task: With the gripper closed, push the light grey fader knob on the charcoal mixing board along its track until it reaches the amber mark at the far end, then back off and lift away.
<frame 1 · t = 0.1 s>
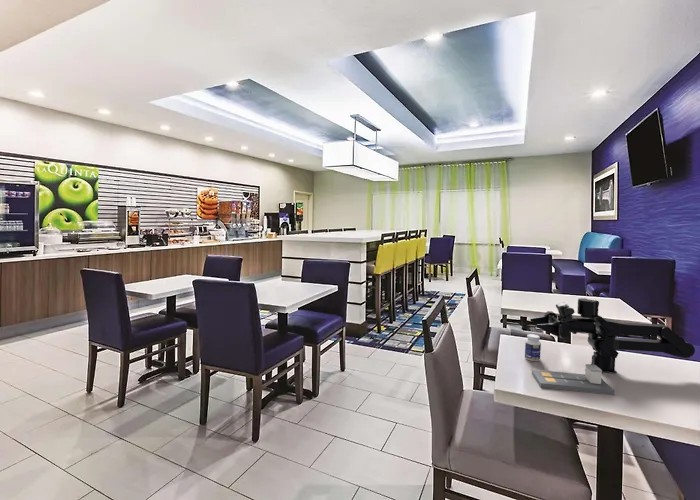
hand: (533, 322, 143), 17 cm above the table, tool horizontal, fingers open, 9 cm apart
pill bottle: (532, 359, 149), on the table
mixing board: (570, 383, 126), on the table
fader: (593, 373, 124), point 4 cm above the table, slide at 0.0 cm
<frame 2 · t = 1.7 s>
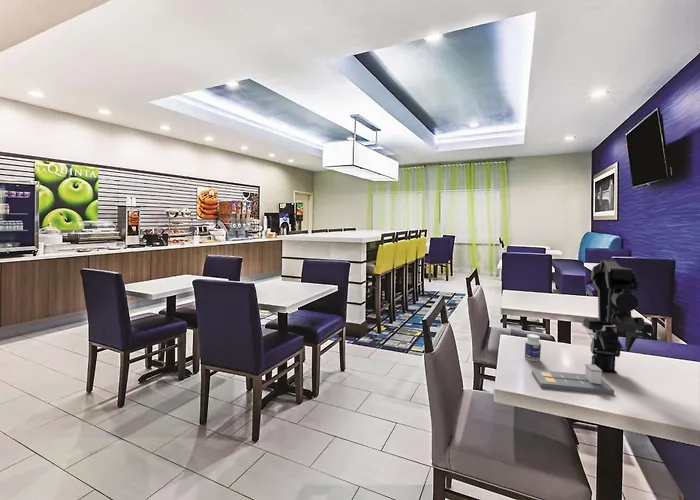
hand: (615, 350, 122), 13 cm above the table, tool pointing down, fingers open, 6 cm apart
nothing on the table moved.
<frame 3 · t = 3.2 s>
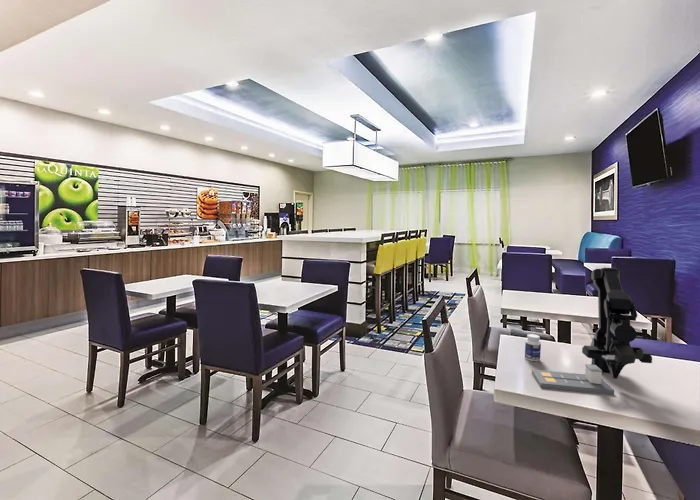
hand: (614, 378, 123), 3 cm above the table, tool pointing down, fingers closed
nothing on the table moved.
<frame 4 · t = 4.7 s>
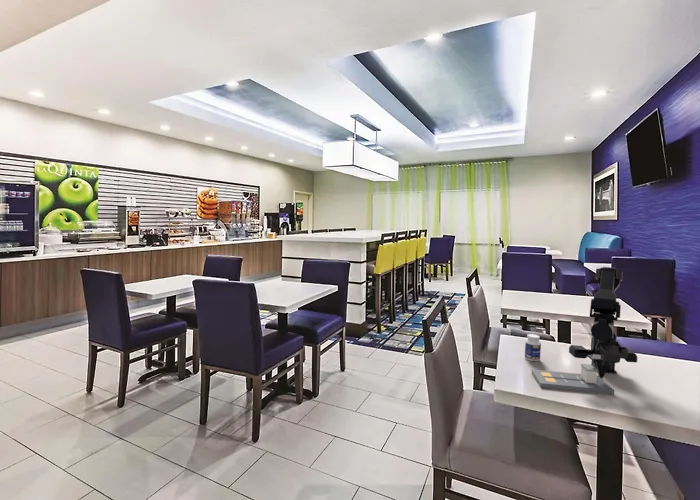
hand: (600, 377, 124), 3 cm above the table, tool pointing down, fingers closed
fader: (588, 373, 125), point 4 cm above the table, slide at 1.4 cm, touching gripper
everything else where it was.
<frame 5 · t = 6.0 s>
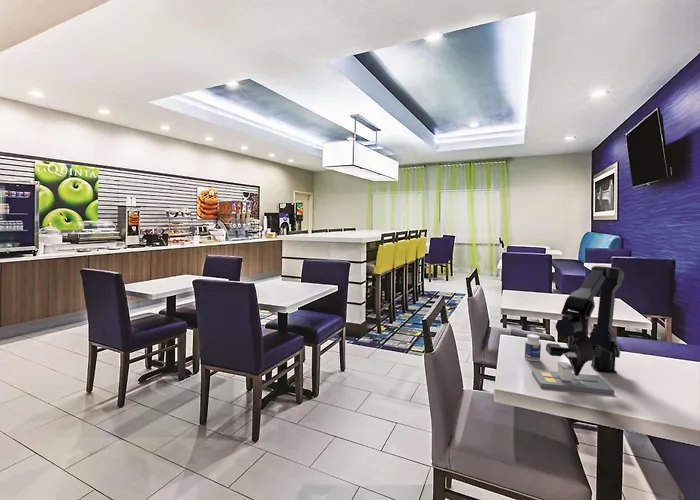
hand: (576, 375, 126), 3 cm above the table, tool pointing down, fingers closed
fader: (564, 371, 126), point 4 cm above the table, slide at 8.9 cm, touching gripper
everything else where it was.
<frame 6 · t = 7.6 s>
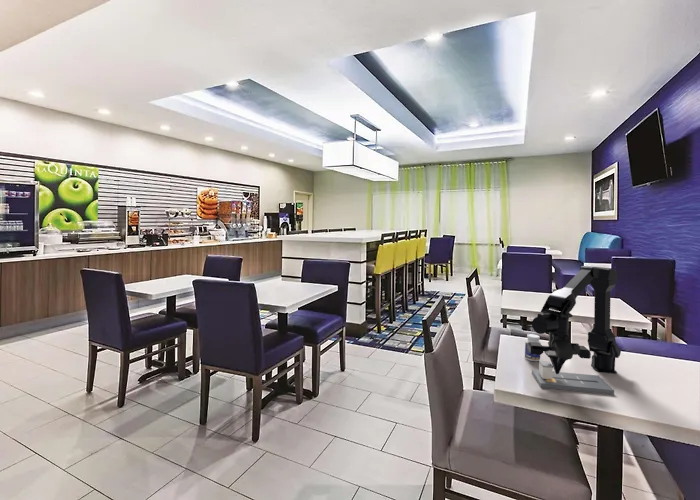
hand: (556, 373, 127), 3 cm above the table, tool pointing down, fingers closed
fader: (545, 369, 128), point 4 cm above the table, slide at 15.0 cm, touching gripper
everything else where it was.
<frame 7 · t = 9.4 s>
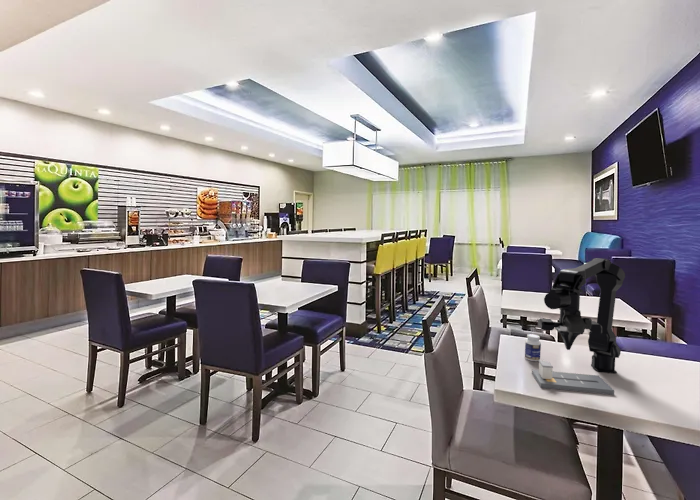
hand: (568, 349, 127), 12 cm above the table, tool pointing down, fingers closed
fader: (545, 369, 128), point 4 cm above the table, slide at 15.0 cm
everything else where it was.
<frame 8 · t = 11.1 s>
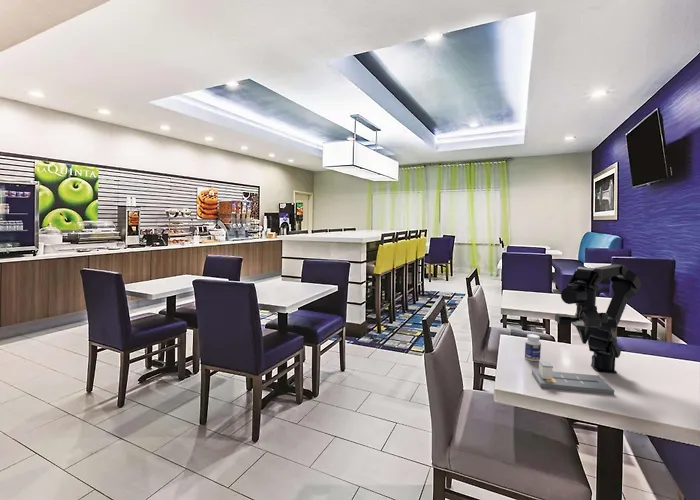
hand: (584, 343, 133), 12 cm above the table, tool pointing down, fingers closed
nothing on the table moved.
at the end: fader slide at 15.0 cm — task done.
